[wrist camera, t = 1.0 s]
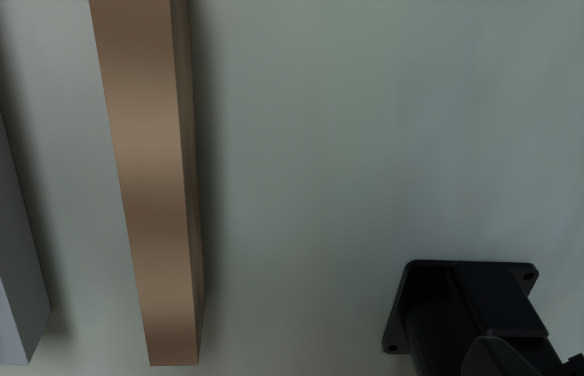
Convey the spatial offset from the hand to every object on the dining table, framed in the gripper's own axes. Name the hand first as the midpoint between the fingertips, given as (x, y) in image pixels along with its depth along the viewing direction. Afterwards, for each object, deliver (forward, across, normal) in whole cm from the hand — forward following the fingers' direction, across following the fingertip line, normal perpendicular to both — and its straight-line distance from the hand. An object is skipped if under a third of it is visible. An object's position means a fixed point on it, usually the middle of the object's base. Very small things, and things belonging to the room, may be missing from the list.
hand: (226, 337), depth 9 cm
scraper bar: (+12, +2, +4) cm, 12 cm away
